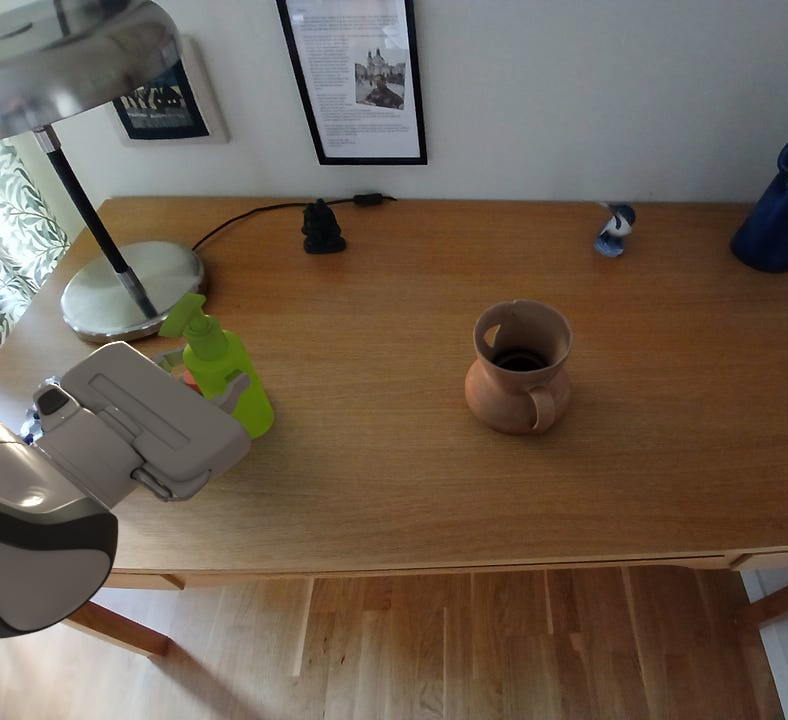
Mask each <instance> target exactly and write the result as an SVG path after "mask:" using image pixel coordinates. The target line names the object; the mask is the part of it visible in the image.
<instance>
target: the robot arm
mask: <svg viewBox="0 0 788 720" xmlns="http://www.w3.org/2000/svg"><path fill="white" fill-rule="evenodd" d="M187 345H188V342H187V341H186V342H184V343H183V344H182V345H180V346H179V347H175V348H171V349H166V350H163V351H159V352H157V353H155V354H153V356H151V357H150V358H148V357H147V356H145V355H144V354H143V353H141V352H139V351H138V350H137V349H135V348H134V347H133V346H131V345H130V344H128V343H126V342H125V341H121V340H120V341H115V342H111V343H107V344H105V345H103V346H102V347H100V348H98V349H96V350H94V351H93V352H92V353H90V354H89V355H87V356H86V357H84V358H83V359H81V360H80V361H79V362H77V363H75V364H74V365H73V366H72V367H70V368H69V369H68V370H66V372H65V373H64V374H63V375H62V376H61V378H60V380H59V385H57V384H55V383H48V384H45V385H43V386H41V387H40V388H39V389H38V390H36V391H35V392H34V393H33V395H32V400H33V403H34V406H35V408H36V411H37V414H38V417H39V421H40V425H41V428H42V431H43V432H44V434H43V435H41V436H40V437H39V438H37V439H36V440H34V441H33V442H31V444H30V445H29V444H28V443H26V442H25V441H24V440H23V439H22V438H20V436H19V435H17V434H16V433H15V432H14V431H12V430H11V429H10V428H9V427H8V426H7V425H5V424H4V423H3V422H1V421H0V640H1V639H10V638H15V637H16V638H17V637H21V636H26V635H30V634H34V633H38V632H42V631H44V630H46V629H49V628H51V627H53V626H55V625H57V624H59V623H61V622H63V621H65V620H66V619H67V618H69V617H71V616H72V615H74V614H75V613H76V612H77V611H79V610H81V608H82V607H84V606H85V605H86V604H87V603H89V601H90V600H91V599H93V598H94V597H95V595H96V594H97V593H99V591H100V590H101V589H102V587H103V586H104V584H105V583H106V582H107V580H108V578H109V577H110V575H111V573H112V571H113V567H114V563H115V559H116V555H117V550H118V544H119V520H118V517H117V515H115V514H113V513H112V512H111V510H113V509H114V508H115V507H116V506H117V505H119V504H120V503H121V502H122V501H123V500H125V499H126V498H127V497H128V496H129V495H130V494H132V493H133V492H134V491H135V490H136V489H137V488H139V487H140V486H142V487H143V488H145V489H146V490H148V491H149V492H151V493H152V494H153V496H154V497H155V498H156V499H157V500H158V501H160V502H162V503H169V502H172V503H181V502H186V501H189V500H190V499H192V498H193V497H194V496H195V495H196V494H198V493H199V492H200V491H201V490H202V489H203V488H205V486H206V485H208V484H209V483H211V482H212V481H214V480H215V479H217V478H218V477H220V476H221V475H222V474H223V473H225V472H226V471H228V470H229V469H231V468H232V467H233V466H235V464H237V463H239V461H240V460H242V459H243V458H244V457H245V456H246V455H248V453H249V451H250V448H251V446H252V440H251V438H250V436H249V434H248V432H247V431H246V429H245V427H244V426H243V424H242V423H240V422H239V421H238V420H236V419H235V418H233V417H232V416H230V414H232V413H233V412H234V410H235V407H236V404H237V402H238V399H239V396H240V395H239V394H241V393H242V392H243V391H244V390H245V389H247V388H248V387H249V386H250V384H251V380H250V378H249V376H248V375H247V374H246V373H244V372H242V371H241V370H239V369H236V370H234V371H233V372H232V373H231V374H229V375H227V376H226V377H225V380H226V382H227V383H228V385H227V387H226V389H225V391H224V393H223V395H222V396H220V395H219V394H216V395H215V396H214V397H213V398H211V399H210V400H207V399H206V398H204V397H203V396H201V395H200V394H199V393H197V392H196V391H194V390H193V389H191V388H190V387H189V386H187V385H186V384H184V383H183V382H181V381H180V380H179V378H177V377H176V376H174V375H173V374H172V373H173V372H174V369H173V368H175V367H178V366H180V365H181V366H182V365H183V364H184V362H183V352H184V349H185V348H186V346H187ZM174 495H175V496H176V497H175V496H174Z"/></svg>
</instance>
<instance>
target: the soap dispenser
mask: <svg viewBox="0 0 788 720" xmlns="http://www.w3.org/2000/svg"><path fill="white" fill-rule="evenodd" d="M206 301H207V298H206V296H205V295H204V294H197V293H190V292H186V293H184V294H183V295H182V297H181V298H180V299H179V300H178V301H177V303H176V304H175V305H174V306H173V307H172V308H171V310H170V311H169V313H168V314H167V316H166V318H165V319H164V320H163V323H162V325H161V326H160V329H159V330H158V333H157V336H158V337H165V338H172V339H180V338H182V336H183V337H184V339H185V340H186V342H188V345H187V346H186V348H185V349H184V352H183V362H184V363H183V364H184V366H185V368H186V370H187V369H188V371H189V372H190V374H191V376H192V377H193V379H194V381H195V382H196V384H197V386H198V387H199V389H200V391H201V392H202V394H203V396H204V397H205V398H206V399H207V400H210V399H211V398H213V397H214V396H215V395H216V394H219V395H220V396H222V395H223V393H224V391H225V389H226V387H227V385H228V383H227V382H226V380H225V377H226V376H227V375H229V374H231V373H232V372H233V371H234V370H236V369H239V370H241V371H242V372H244V373H246V374H247V375H248V376H249V378H250V380H251V384H250V386H249V387H248V388H247V389H245V390H244V391H243V392H242V393H241V394H239V395H240V396H239V399H238V402H237V404H236V407H235V410H234V412H233V413H232V414H230V416H232V417H233V418H235V419H236V420H238V421H239V422H240V423H242V424H243V426H244V427H245V429H246V431H247V432H248V434H249V436H250V438H251V441H252V440H255V439H257V438H259V437H261V436H263V435H264V434H265V433H266V432H267V431H269V429H270V428H271V427H272V424H273V422H274V419H275V412H274V409H273V407H272V405H271V403H270V400H269V398H268V396H267V393H266V392H265V389H264V387H263V385H262V383H261V380H260V378H259V376H258V374H257V372H256V369H255V368H254V365H253V363H252V360H251V358H250V356H249V353H248V352H247V349H246V348H245V345H244V343H243V340H242V338H241V337H240V336H239V335H238V334H236V333H235V332H234V331H230V330H227V329H222V327H221V324H220V323H219V320H218V319H217V318H215V317H214V316H212V315H207V314H205V313H204V311H203V308H202V306H203V305H204V304H205V303H206Z"/></svg>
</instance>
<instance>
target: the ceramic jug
mask: <svg viewBox="0 0 788 720" xmlns="http://www.w3.org/2000/svg"><path fill="white" fill-rule="evenodd" d="M497 326H498V327H497ZM494 327H497V329H496V330H495V332H494V336H493V339H492V342H491V346H490V345H489V344H488V342H487V341H486V339H485V338H484V337H485V335H486V333H487V331H489V330H490V329H492V328H494ZM573 333H574V332H573V329H572V326H571V324H570V322H569V320H568V319H567V317H566V316H565V315H564V314H563V313H562V312H560V310H558V309H557V308H555V307H553V306H551V305H549V304H548V303H545V302H542V301H539V300H534V299H529V298H517V299H514V300H513V301H508V300H504V301H501V302H497V303H495V304H494V305H491V306H490V307H488V308H487V309H485V310H484V311H483V312H482V313H481V315H480V316H479V317H478V319H477V321H476V323H475V325H474V328H473V335H472V337H473V345H474V349H475V353H476V355H477V359H475V361H474V362H473V363H472V365H471V366H470V368H469V370H468V372H467V373H466V377H465V381H464V395H465V400H466V403H467V405H468V407H469V409H470V411H471V413H472V414H473V415H474V416H475V418H476V419H477V420H478V421H479V422H481V424H483V425H484V426H486V427H487V428H488V429H490V430H492V431H495V432H496V433H499V434H502V435H505V436H512V437H531V436H540V435H542V434H543V433H545V432H546V431H547V430H549V429H551V428H552V427H554V426H555V425H556V424H557V423H558V422H560V421H561V420H562V418H563V417H564V415H566V412H567V411H568V408H569V406H570V403H571V399H572V385H571V381H570V377H569V375H568V373H567V371H566V369H565V368H564V365H565V364H566V362H567V360H568V358H569V356H570V353H571V351H572V348H573V344H574V334H573Z"/></svg>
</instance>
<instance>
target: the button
mask: <svg viewBox="0 0 788 720" xmlns="http://www.w3.org/2000/svg"><path fill="white" fill-rule="evenodd" d="M184 372H185V373H184ZM184 372H183V373H184V376H183V379H184V381H185V383H186V384H187V386H189V387H190V388H191V389H193V390H194V391H196V392H197V393H199V394H200V393H202V392H201V391H200V389H199V387H198V386H197V384H196V382H195V381H194V379H193V377H192V376H191V374H190V372H189V371H188V369H187V368H186V370H185V371H184Z"/></svg>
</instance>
